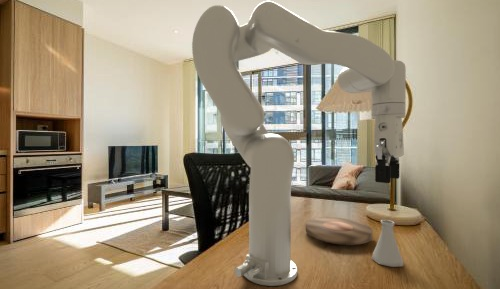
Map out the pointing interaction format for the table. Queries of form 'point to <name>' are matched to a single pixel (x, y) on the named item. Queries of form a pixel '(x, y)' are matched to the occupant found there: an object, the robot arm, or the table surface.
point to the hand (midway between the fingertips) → (387, 180)
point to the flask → (387, 247)
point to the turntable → (339, 230)
